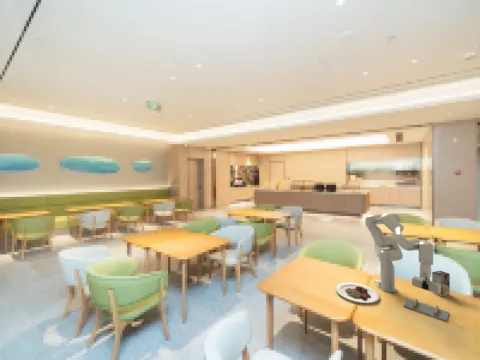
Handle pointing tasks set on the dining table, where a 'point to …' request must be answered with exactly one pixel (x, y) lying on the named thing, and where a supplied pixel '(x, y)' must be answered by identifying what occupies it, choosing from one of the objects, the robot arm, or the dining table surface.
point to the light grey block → (431, 285)
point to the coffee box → (442, 282)
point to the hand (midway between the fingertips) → (426, 287)
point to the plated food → (357, 292)
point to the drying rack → (427, 309)
